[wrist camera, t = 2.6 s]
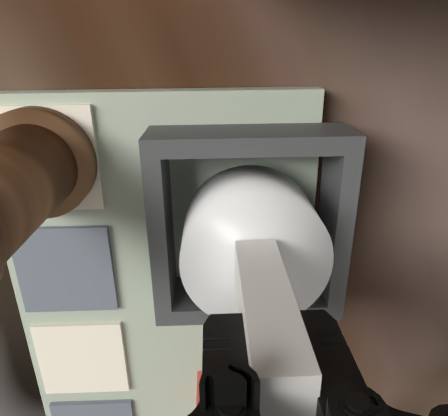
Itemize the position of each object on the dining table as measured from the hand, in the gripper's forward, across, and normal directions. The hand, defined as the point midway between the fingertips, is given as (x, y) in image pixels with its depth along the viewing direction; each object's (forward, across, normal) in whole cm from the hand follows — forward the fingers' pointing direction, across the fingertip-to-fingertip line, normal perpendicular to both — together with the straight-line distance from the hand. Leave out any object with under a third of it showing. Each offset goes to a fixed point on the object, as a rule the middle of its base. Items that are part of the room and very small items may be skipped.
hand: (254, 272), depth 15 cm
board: (+7, -4, -6) cm, 10 cm away
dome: (+4, 0, 0) cm, 4 cm away
